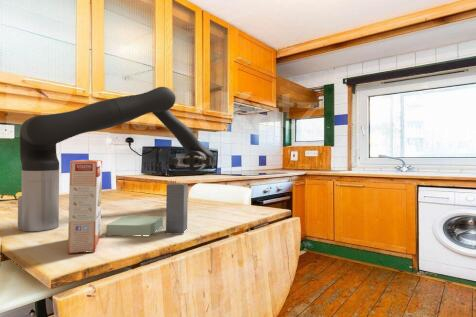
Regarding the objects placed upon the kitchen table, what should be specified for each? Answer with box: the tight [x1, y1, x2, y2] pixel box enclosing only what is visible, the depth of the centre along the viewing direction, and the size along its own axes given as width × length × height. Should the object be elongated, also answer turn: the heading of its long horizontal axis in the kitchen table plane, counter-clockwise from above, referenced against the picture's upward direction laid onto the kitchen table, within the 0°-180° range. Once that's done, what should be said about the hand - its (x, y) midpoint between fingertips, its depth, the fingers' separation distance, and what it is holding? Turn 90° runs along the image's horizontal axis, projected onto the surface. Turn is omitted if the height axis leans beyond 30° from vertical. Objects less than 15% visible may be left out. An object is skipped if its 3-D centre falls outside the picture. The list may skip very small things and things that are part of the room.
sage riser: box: [105, 215, 164, 237], centre depth 85 cm, size 12×12×3 cm
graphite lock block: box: [165, 182, 189, 234], centre depth 84 cm, size 5×5×14 cm
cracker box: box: [67, 159, 103, 255], centre depth 71 cm, size 14×6×21 cm, turn 21°
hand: (186, 161), depth 95 cm, fingers open, 8 cm apart
